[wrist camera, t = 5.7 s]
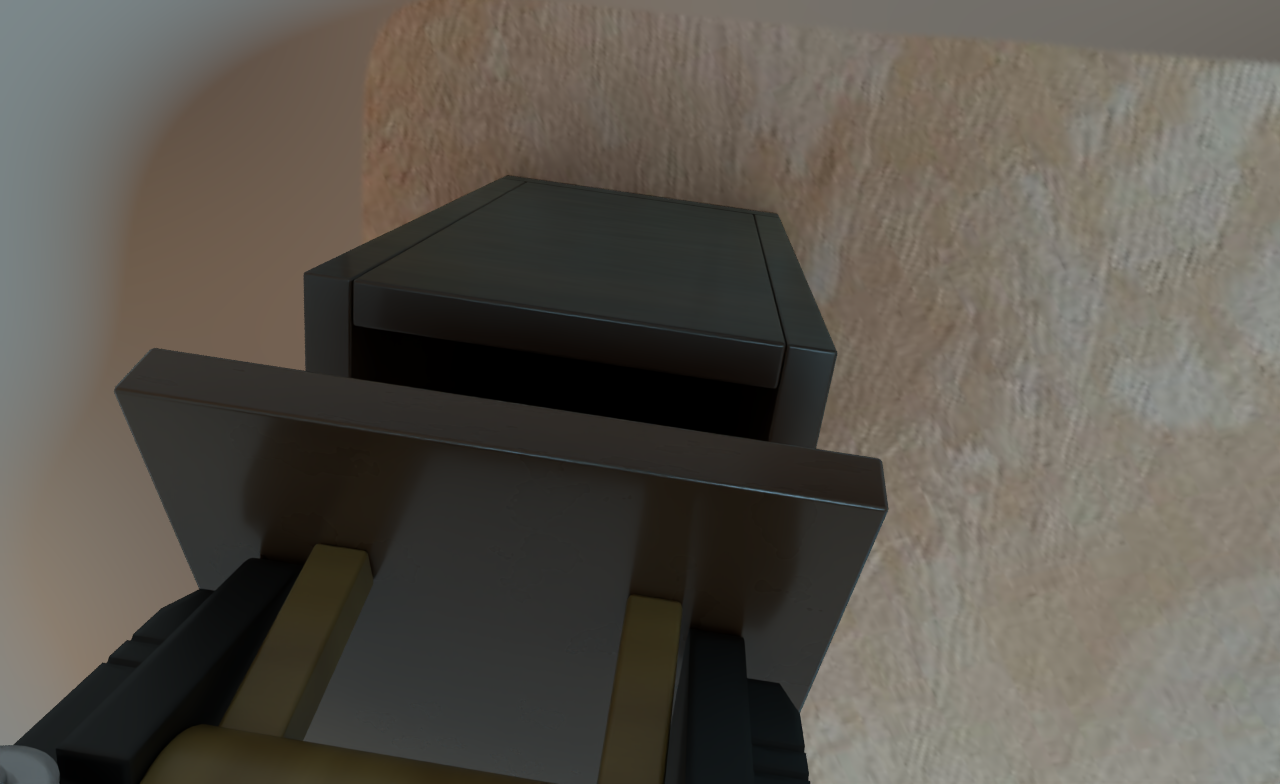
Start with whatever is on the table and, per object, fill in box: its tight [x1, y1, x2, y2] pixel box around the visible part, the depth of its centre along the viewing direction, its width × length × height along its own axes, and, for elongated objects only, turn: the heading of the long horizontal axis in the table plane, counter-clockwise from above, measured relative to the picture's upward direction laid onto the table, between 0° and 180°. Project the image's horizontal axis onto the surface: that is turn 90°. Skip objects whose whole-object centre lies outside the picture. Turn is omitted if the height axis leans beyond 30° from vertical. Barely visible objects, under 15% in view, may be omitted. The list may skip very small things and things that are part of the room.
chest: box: [304, 175, 837, 449], centre depth 22 cm, size 11×9×14 cm
